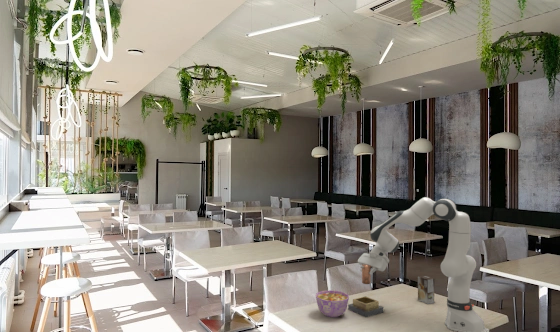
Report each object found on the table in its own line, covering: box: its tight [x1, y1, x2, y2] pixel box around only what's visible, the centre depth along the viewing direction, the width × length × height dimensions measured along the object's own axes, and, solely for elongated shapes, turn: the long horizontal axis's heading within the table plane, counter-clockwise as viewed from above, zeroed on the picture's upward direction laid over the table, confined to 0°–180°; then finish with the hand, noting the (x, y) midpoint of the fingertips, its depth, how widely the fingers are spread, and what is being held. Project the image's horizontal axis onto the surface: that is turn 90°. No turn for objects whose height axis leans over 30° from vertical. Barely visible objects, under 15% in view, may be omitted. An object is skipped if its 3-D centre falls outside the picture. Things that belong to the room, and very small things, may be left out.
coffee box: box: [417, 274, 435, 305], centre depth 256 cm, size 9×6×16 cm
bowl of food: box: [315, 289, 350, 318], centre depth 231 cm, size 20×20×12 cm
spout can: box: [360, 264, 372, 285], centre depth 237 cm, size 5×7×11 cm
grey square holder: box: [347, 296, 384, 318], centre depth 238 cm, size 15×15×6 cm
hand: (365, 272), depth 237 cm, fingers closed on spout can, 5 cm apart
